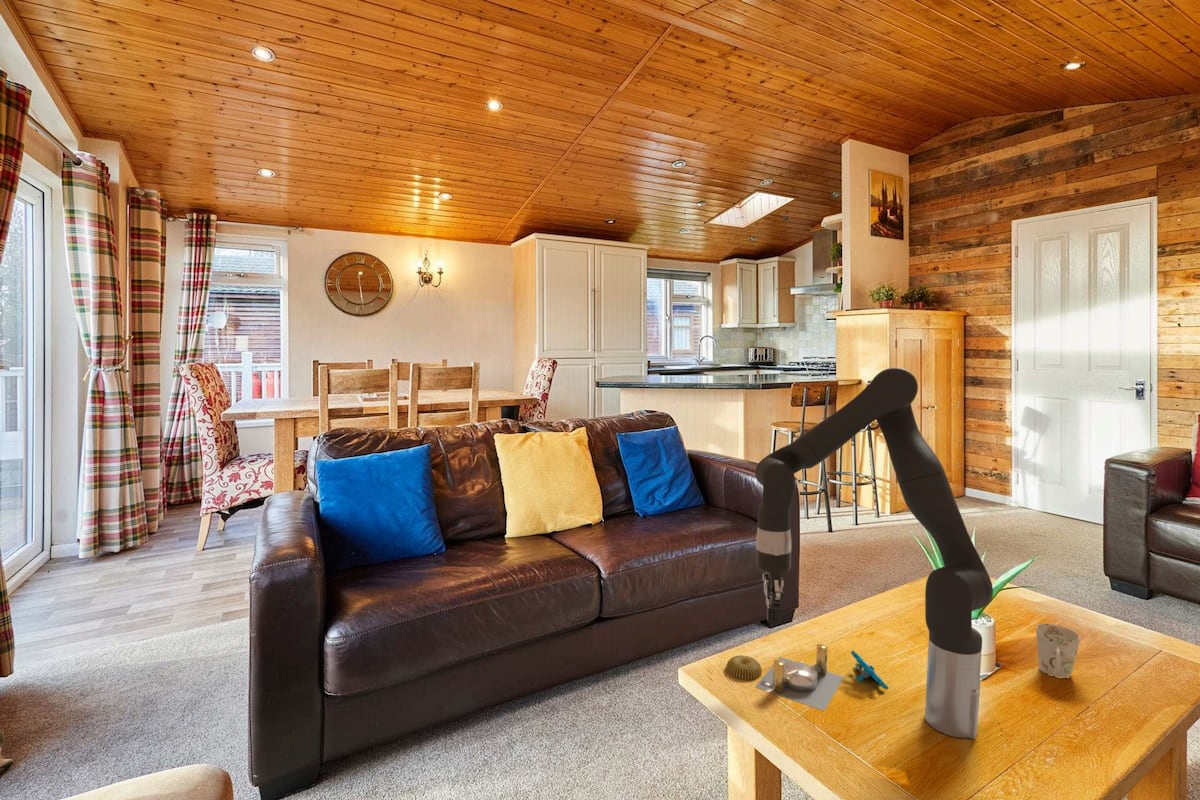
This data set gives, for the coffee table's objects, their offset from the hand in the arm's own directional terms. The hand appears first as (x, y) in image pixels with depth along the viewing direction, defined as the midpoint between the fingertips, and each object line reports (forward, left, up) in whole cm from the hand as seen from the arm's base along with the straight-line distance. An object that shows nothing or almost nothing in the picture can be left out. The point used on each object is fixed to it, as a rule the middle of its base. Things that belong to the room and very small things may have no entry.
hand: (772, 622), depth 136 cm
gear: (-18, -13, -15) cm, 27 cm away
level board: (-6, -3, -15) cm, 16 cm away
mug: (-53, -43, -15) cm, 70 cm away
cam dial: (-6, -3, -13) cm, 15 cm away
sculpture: (+6, 0, -15) cm, 17 cm away
